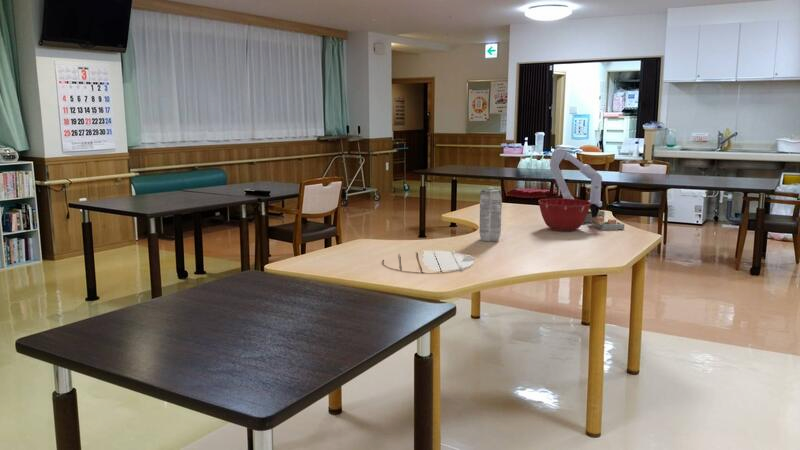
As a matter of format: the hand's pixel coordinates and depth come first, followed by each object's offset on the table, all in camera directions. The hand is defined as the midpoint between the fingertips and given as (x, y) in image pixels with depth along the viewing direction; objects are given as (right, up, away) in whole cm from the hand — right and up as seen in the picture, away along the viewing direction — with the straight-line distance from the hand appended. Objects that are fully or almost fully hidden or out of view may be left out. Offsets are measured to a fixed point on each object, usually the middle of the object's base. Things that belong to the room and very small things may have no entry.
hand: (594, 217), depth 361 cm
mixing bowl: (-22, -7, -15) cm, 27 cm away
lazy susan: (-100, -21, -91) cm, 137 cm away
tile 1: (+1, -2, -6) cm, 7 cm away
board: (+3, -5, -6) cm, 9 cm away
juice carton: (-67, -12, -45) cm, 81 cm away
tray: (+4, -6, -14) cm, 16 cm away
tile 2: (+6, -3, -11) cm, 13 cm away
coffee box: (+7, +2, +12) cm, 14 cm away
